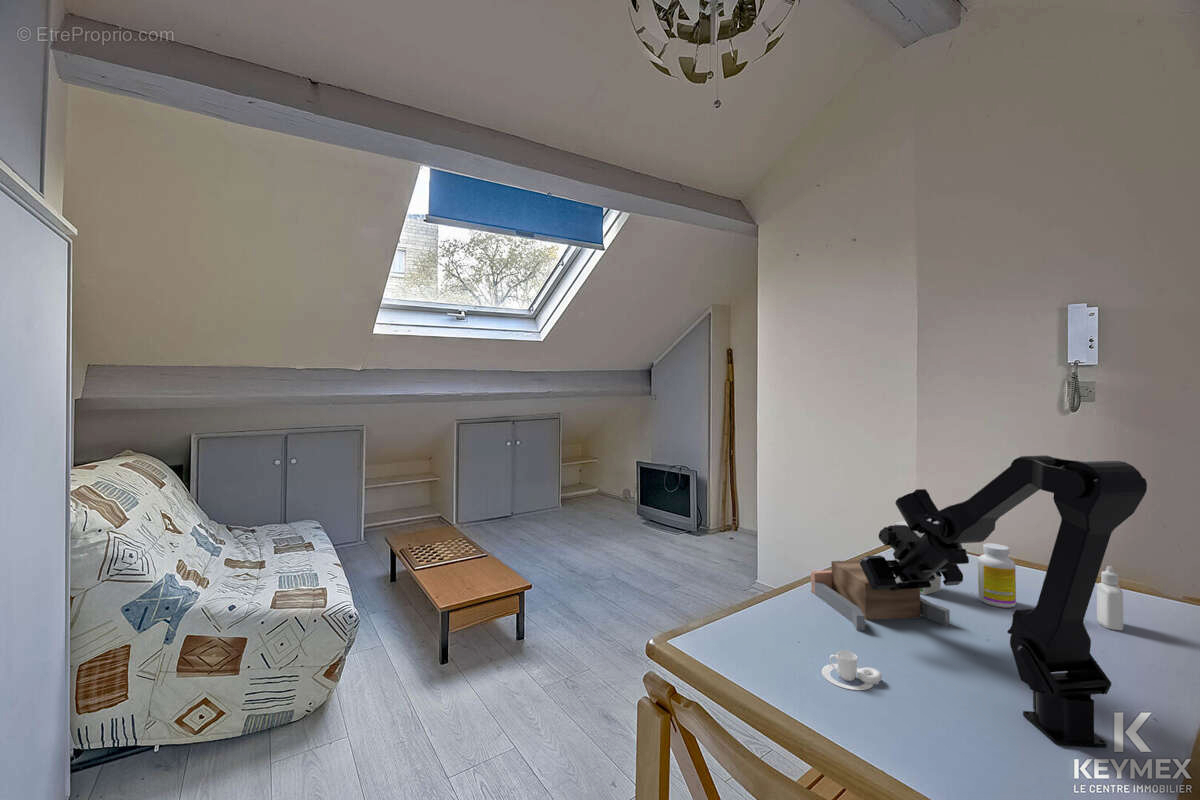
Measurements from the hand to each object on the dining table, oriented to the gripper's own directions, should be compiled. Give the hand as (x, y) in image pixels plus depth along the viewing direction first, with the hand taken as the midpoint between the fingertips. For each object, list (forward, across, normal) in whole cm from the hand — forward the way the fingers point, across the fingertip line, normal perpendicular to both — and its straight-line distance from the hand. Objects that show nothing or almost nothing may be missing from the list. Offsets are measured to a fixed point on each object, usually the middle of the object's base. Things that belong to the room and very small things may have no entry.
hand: (891, 588), depth 105 cm
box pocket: (+9, 0, 0) cm, 9 cm away
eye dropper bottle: (-1, -42, +11) cm, 43 cm away
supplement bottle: (+8, -29, +2) cm, 30 cm away
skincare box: (+15, -18, -6) cm, 24 cm away
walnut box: (+10, -1, 0) cm, 10 cm away
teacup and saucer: (-10, +22, +21) cm, 32 cm away
